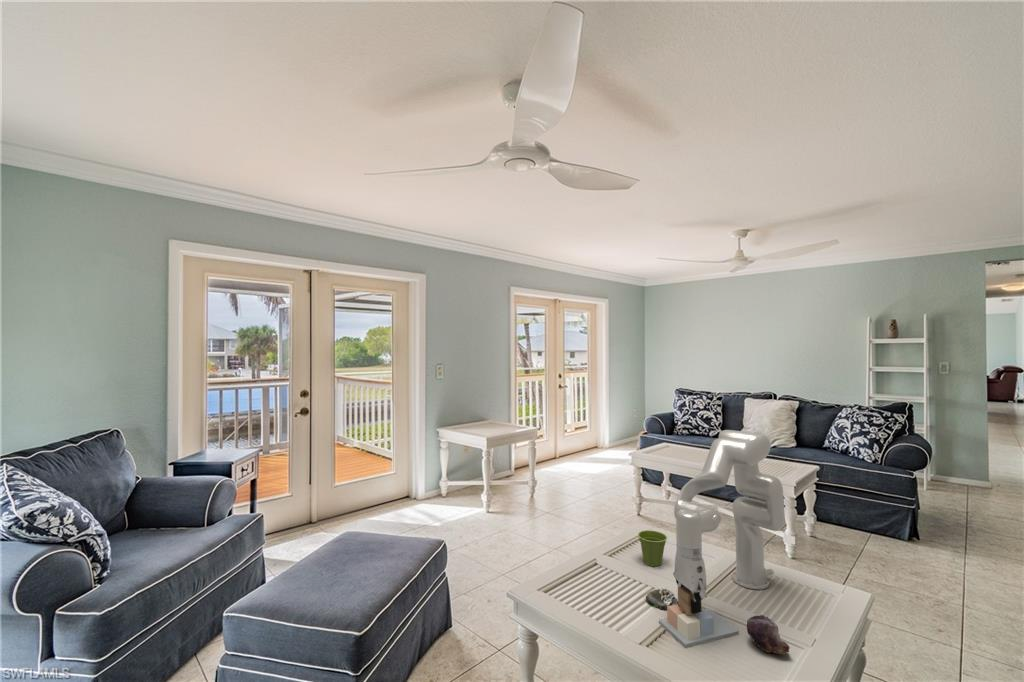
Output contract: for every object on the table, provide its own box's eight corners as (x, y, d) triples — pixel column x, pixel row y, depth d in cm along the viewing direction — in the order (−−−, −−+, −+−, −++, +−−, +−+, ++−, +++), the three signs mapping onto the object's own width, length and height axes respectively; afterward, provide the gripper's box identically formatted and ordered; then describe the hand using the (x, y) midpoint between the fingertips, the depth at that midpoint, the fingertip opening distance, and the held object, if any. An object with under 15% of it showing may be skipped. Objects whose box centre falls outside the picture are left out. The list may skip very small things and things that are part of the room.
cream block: (689, 627, 145) (689, 612, 145) (700, 636, 141) (700, 620, 141) (677, 630, 144) (677, 615, 144) (687, 639, 139) (687, 623, 139)
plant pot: (671, 569, 185) (671, 541, 185) (642, 569, 185) (642, 541, 185) (662, 556, 197) (662, 529, 197) (634, 556, 197) (634, 529, 197)
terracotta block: (679, 618, 150) (679, 603, 150) (689, 627, 146) (689, 611, 146) (667, 621, 149) (667, 606, 149) (676, 630, 144) (676, 614, 144)
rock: (770, 639, 143) (739, 639, 142) (768, 609, 144) (737, 609, 144) (795, 659, 131) (760, 659, 131) (792, 626, 132) (758, 626, 132)
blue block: (702, 624, 147) (702, 609, 147) (713, 633, 142) (713, 617, 142) (690, 627, 145) (690, 612, 145) (701, 636, 141) (700, 620, 141)
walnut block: (690, 603, 149) (690, 584, 149) (701, 612, 144) (701, 592, 144) (677, 606, 147) (677, 587, 147) (688, 615, 142) (688, 595, 142)
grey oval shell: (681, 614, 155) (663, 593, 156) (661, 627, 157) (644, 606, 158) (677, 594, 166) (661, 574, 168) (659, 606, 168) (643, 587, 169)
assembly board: (708, 611, 156) (708, 608, 156) (738, 634, 143) (738, 631, 143) (658, 622, 149) (658, 619, 149) (685, 647, 137) (685, 644, 137)
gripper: (718, 560, 139) (719, 620, 139) (681, 538, 155) (681, 592, 155) (697, 564, 136) (698, 625, 136) (662, 541, 153) (663, 595, 152)
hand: (689, 607), depth 146 cm, fingers closed on walnut block, 5 cm apart
